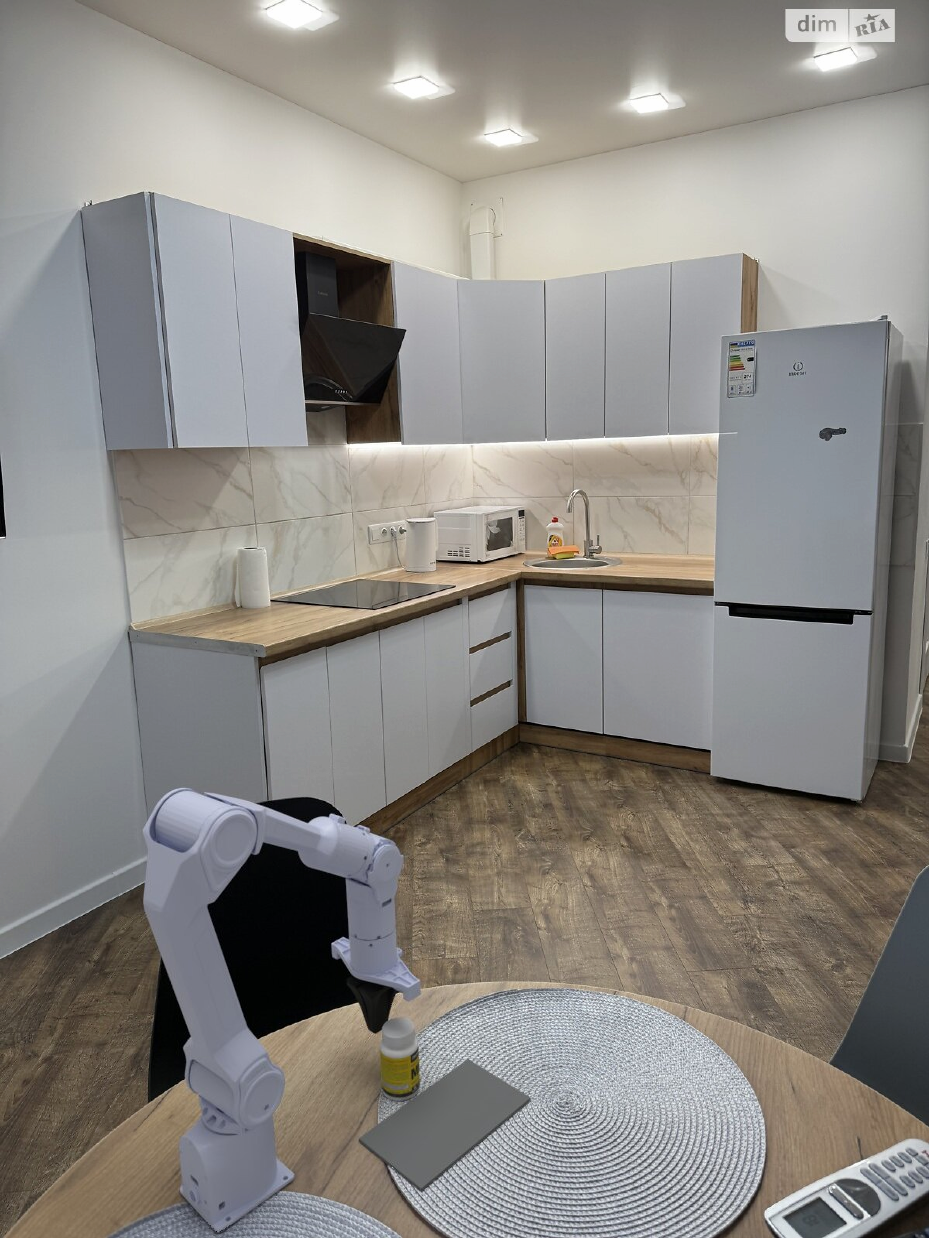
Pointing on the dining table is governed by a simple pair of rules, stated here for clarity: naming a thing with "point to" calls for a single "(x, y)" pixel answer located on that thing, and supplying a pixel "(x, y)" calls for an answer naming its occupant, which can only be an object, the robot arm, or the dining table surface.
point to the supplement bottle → (399, 1059)
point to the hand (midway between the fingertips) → (377, 1027)
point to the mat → (444, 1123)
